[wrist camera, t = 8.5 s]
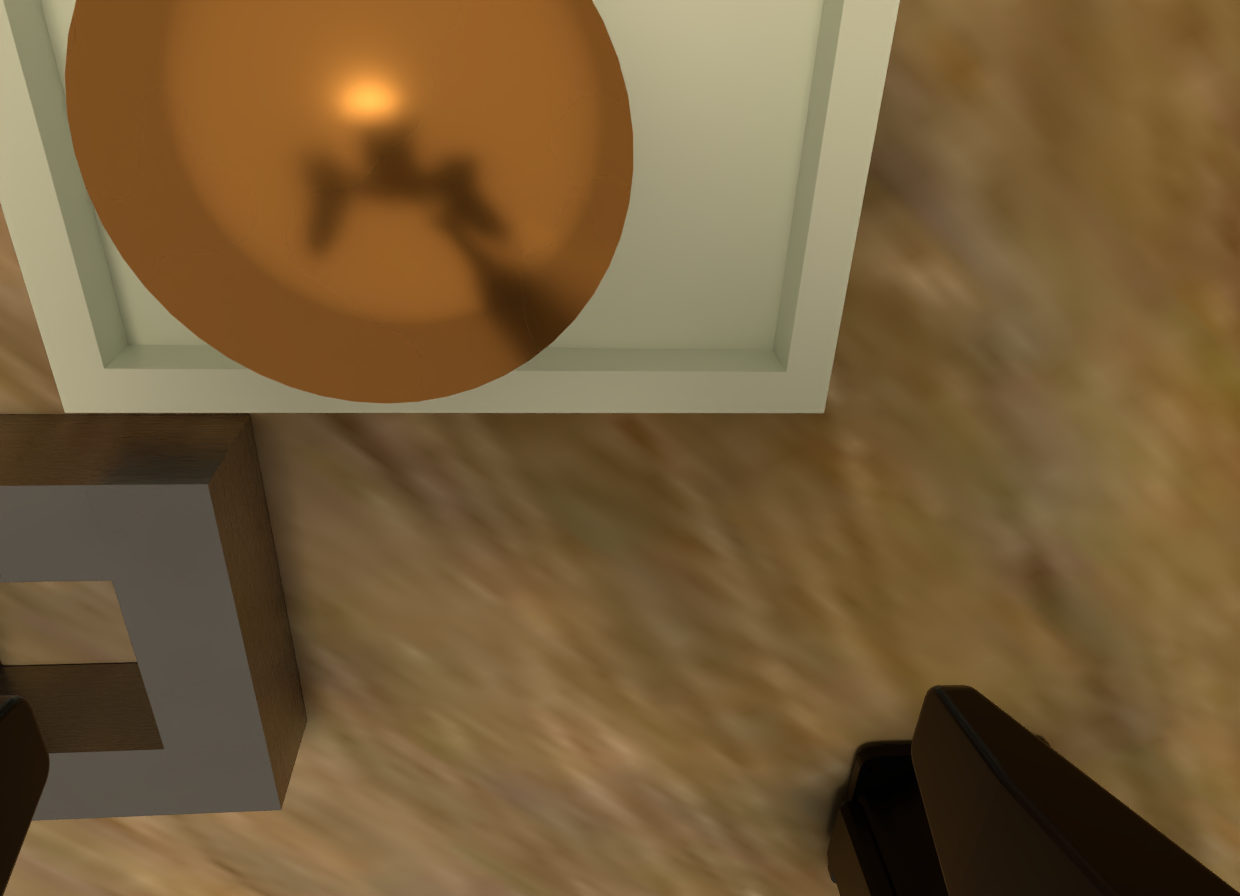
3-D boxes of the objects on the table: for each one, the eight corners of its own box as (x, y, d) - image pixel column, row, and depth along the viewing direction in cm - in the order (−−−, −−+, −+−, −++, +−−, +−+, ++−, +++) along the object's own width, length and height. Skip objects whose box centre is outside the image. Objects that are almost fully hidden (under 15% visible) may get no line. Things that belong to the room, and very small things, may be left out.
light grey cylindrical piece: (585, -102, 15) (651, -152, 7) (578, 189, 18) (620, 403, 9) (289, -120, 15) (-14, -195, 6) (325, 182, 17) (138, 403, 9)
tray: (933, -412, 14) (983, -457, 12) (802, 378, 21) (824, 413, 19) (-145, -517, 12) (-241, -582, 11) (102, 375, 19) (64, 412, 18)
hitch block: (249, 414, 20) (207, 484, 18) (306, 720, 25) (281, 809, 23) (-221, 414, 19) (-339, 488, 17) (-64, 733, 24) (-136, 827, 22)
